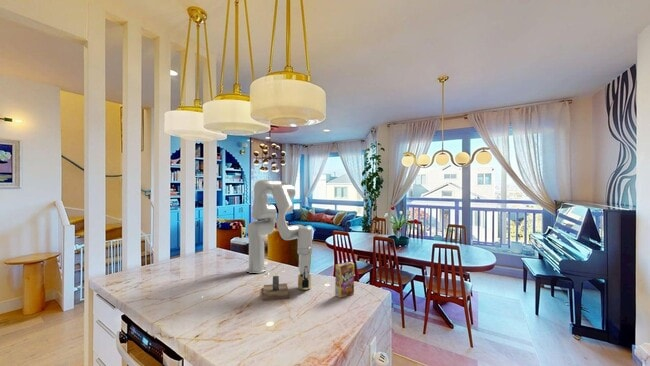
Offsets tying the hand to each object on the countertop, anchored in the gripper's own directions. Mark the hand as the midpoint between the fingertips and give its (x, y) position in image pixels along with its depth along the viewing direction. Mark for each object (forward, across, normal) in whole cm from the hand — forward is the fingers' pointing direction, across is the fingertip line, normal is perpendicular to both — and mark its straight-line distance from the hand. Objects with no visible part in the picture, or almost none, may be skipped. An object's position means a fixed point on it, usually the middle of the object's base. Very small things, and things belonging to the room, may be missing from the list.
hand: (304, 284), depth 135 cm
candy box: (+2, +12, +18) cm, 22 cm away
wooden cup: (+1, 0, 0) cm, 1 cm away
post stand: (+2, +2, -15) cm, 15 cm away
